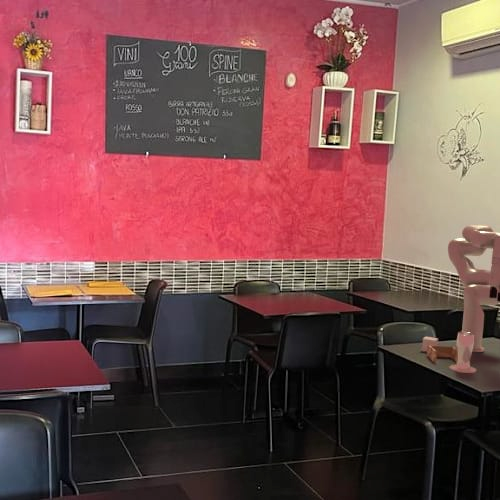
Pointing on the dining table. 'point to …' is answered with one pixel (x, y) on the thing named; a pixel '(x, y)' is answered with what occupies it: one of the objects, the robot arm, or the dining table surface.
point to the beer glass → (464, 350)
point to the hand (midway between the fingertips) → (496, 299)
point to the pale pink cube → (429, 342)
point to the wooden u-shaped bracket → (441, 352)
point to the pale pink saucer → (471, 370)
